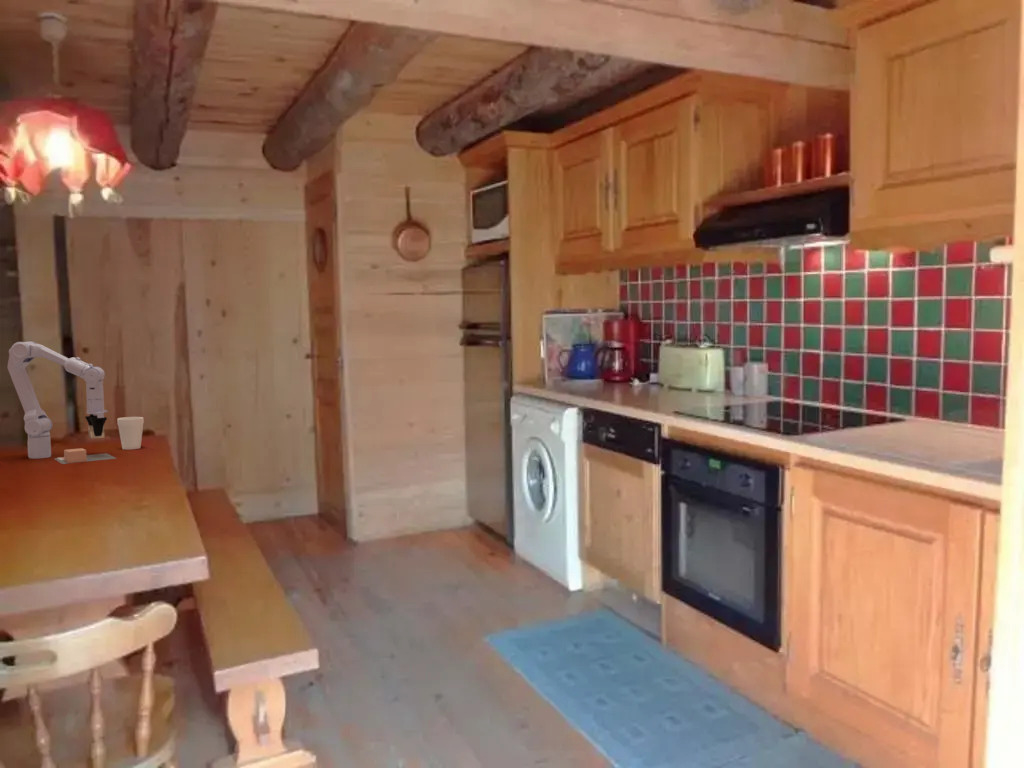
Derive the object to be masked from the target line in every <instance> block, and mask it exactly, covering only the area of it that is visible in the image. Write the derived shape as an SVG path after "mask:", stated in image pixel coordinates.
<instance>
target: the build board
mask: <svg viewBox="0 0 1024 768" xmlns="http://www.w3.org/2000/svg"><path fill="white" fill-rule="evenodd" d="M57 458H58V457H55V458H54V459H53V460H55V461H57V462H58V463H60V464H62V465H66V464H69V463H67V462H66V461H64V460H59V459H57ZM114 459H115V460H116V459H117V457H115V456H113V455H111V454H110V453H107V452H106V453H98V454H96V453H95V454H87V461H84V462H95V461H97V462H98V461H105V460H114ZM84 462H83V463H84ZM76 463H78V462H74V463H73V464H76Z"/></svg>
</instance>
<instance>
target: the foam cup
mask: <svg viewBox="0 0 1024 768" xmlns="http://www.w3.org/2000/svg"><path fill="white" fill-rule="evenodd" d="M116 420H117V427H118V433H119V438H120V443H121V448H122V450H137V449H138V450H139V449H141V446H142V437H143V431H144V430H143V429H144V424H145V420H144V417H143V416H125V417H118V418H117V419H116Z"/></svg>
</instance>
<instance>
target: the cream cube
mask: <svg viewBox="0 0 1024 768" xmlns="http://www.w3.org/2000/svg"><path fill="white" fill-rule="evenodd" d="M87 428H88V430H87V431H88V438H90V439H101V438H102V439H103V438H105V425H104V426H103V431H102V435H101V436H95V435H94V430H93V425H90V426H89V425H88V426H87Z"/></svg>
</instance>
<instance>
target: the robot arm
mask: <svg viewBox="0 0 1024 768" xmlns="http://www.w3.org/2000/svg"><path fill="white" fill-rule="evenodd" d="M35 358H44V359H46V360H48V361H51V362H54V363H56V364H58V365H61V366H63V368H64V370H65V371H66V372H68V373H70V374H72V375H75V376H77V377H78V378H81V379H83V381H84V382H85V386H86V387H85V391H86V394H85V395H86V396H85V397H86V411H85V412H86V414H87V415H86V416H84V418H85V420H86V422H87V425H88V426H90V425H93V430H94V435H95V436H101V435H102V431H103V426H104V427H105V423H106V421H107V419H108V417H106V416H104V414H105V413H108V410H107V409H105V395H104V379H105V377H106V373H105V370H104V369H103V368H102V367H100V366H94V364H92V363H88V362H85V361H83V360H82V358H81V357H79V356H77V357H74V356H73V357H69V358H68V356H65V355H63V354H61V353H59V352H57V351H55V350H53V349H52V348H49V347H47V346H45V345H43V344H40V343H37V342H35V341H32V340H31V341H30V340H29V341H17V342H15V343H13V344H12V346H11V347H10V348H9V350H8V361H7V370H8V373H9V376H10V377H11V381H12V383H13V386H14V388H15V392H16V393H17V396H18V399H19V401H20V403H21V406H22V409H23V411H24V415H23V421H24V427H23V428H24V431H25V433H26V434H27V457H28V459H33V460H34V459H45V458H51V457H52V445H51V443H52V442H51V433H50V431H51V430H52V429H53V421H52V420H51V419H50V418H49V417H48V415H47V414H46V411H45V410H43V409H42V407H41V405H40V402H39V401H38V398H37V395H36V392H35V390H34V387H33V384H32V382H31V380H30V377H29V375H28V372H27V367H28V366H29V364H30V363H31V361H32V360H34V359H35Z"/></svg>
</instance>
